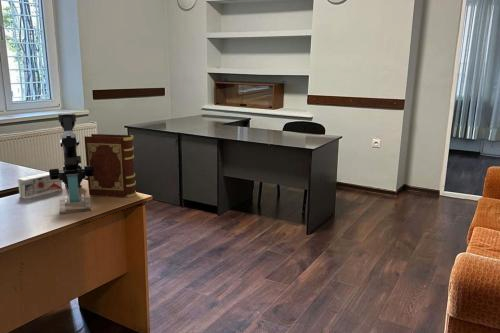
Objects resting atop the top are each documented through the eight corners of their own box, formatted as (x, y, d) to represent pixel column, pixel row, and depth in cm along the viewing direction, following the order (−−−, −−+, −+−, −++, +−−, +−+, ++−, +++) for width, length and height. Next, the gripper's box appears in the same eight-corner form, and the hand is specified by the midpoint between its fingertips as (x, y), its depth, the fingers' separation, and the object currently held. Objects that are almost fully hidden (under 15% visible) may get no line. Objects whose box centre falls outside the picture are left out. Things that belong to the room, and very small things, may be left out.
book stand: (59, 201, 198) (58, 193, 197) (88, 198, 203) (88, 190, 202) (59, 214, 181) (58, 205, 180) (91, 210, 186) (90, 202, 185)
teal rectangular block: (69, 199, 193) (67, 174, 190) (79, 198, 194) (76, 174, 191) (69, 203, 187) (67, 178, 184) (79, 202, 189) (77, 177, 186)
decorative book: (138, 193, 213) (135, 135, 205) (132, 197, 205) (129, 137, 198) (96, 191, 215) (91, 133, 208) (88, 195, 207) (83, 136, 200)
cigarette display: (25, 199, 201) (23, 180, 199) (19, 196, 204) (17, 178, 202) (64, 189, 217) (62, 172, 215) (58, 187, 220) (56, 170, 218)
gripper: (47, 151, 185) (48, 181, 178) (91, 148, 192) (95, 177, 185) (49, 164, 194) (51, 193, 187) (92, 161, 201) (95, 189, 194)
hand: (73, 188), depth 188 cm, fingers closed on teal rectangular block, 4 cm apart
